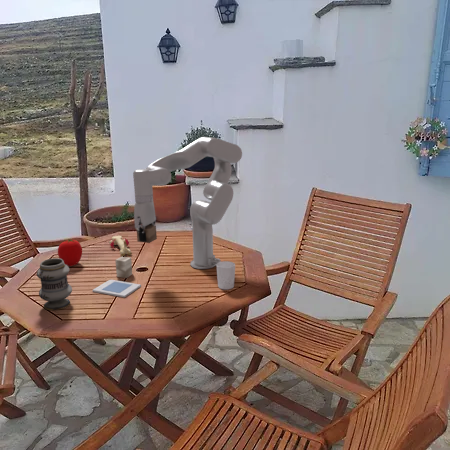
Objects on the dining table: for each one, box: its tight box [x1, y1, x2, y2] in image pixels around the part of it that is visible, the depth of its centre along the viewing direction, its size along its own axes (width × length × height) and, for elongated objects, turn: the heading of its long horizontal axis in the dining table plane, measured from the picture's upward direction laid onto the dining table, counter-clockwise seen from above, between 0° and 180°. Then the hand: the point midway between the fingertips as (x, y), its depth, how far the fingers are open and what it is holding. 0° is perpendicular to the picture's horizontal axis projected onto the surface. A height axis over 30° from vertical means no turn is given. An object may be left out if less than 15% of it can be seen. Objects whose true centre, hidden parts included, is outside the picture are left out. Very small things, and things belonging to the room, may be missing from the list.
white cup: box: [215, 260, 236, 290], centre depth 186 cm, size 8×8×10 cm
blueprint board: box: [92, 279, 142, 298], centre depth 186 cm, size 16×12×1 cm
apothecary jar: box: [36, 257, 73, 311], centre depth 170 cm, size 12×12×18 cm
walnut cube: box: [136, 225, 158, 244], centre depth 190 cm, size 6×6×6 cm
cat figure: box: [108, 235, 133, 257], centre depth 235 cm, size 10×9×25 cm
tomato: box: [57, 239, 83, 267], centre depth 212 cm, size 11×11×13 cm
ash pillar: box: [115, 256, 133, 279], centre depth 199 cm, size 5×5×8 cm
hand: (147, 238), depth 191 cm, fingers closed on walnut cube, 6 cm apart
